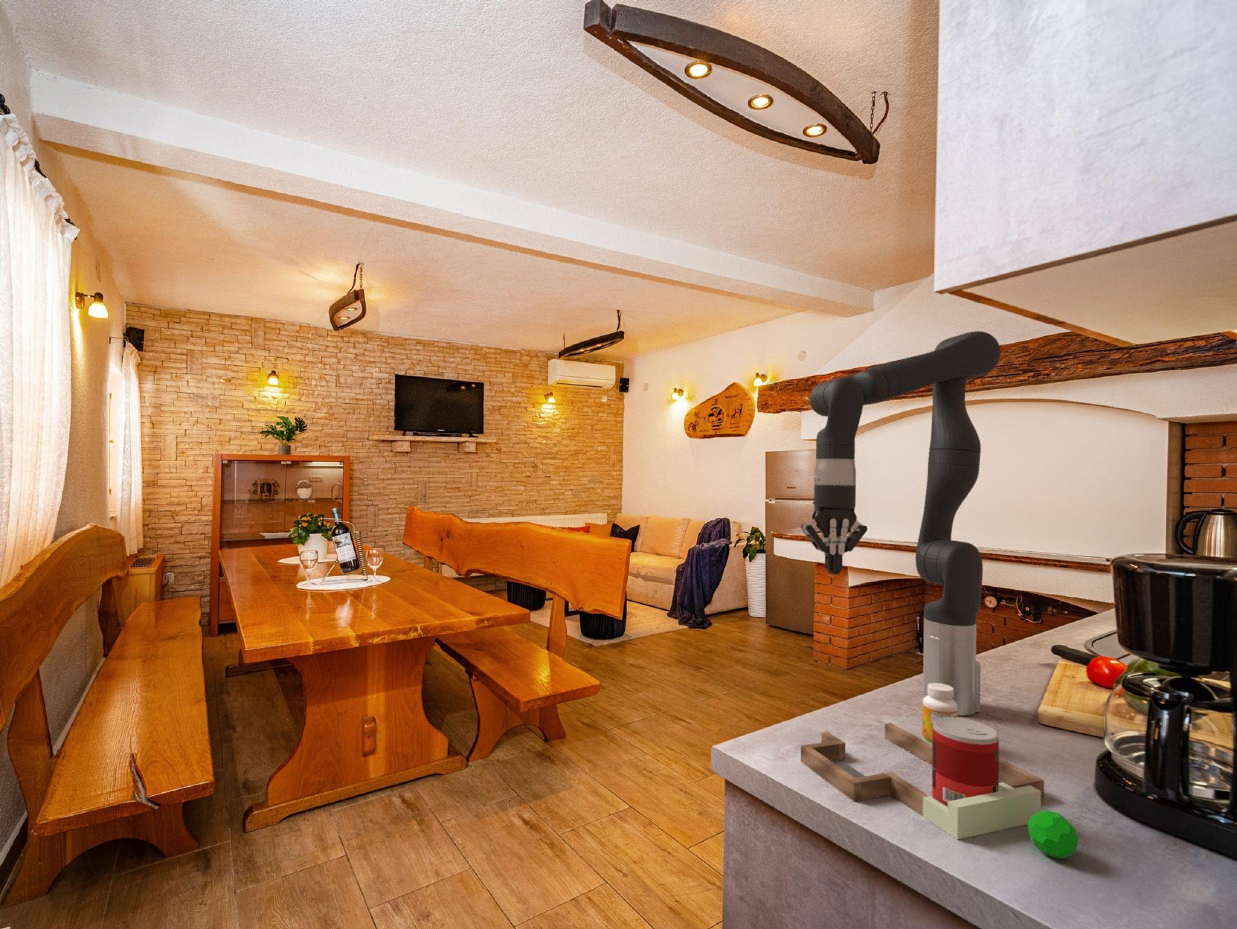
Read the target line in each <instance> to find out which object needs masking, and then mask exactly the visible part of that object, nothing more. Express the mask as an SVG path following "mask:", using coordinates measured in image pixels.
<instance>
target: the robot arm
mask: <svg viewBox="0 0 1237 929" xmlns="http://www.w3.org/2000/svg"><path fill="white" fill-rule="evenodd" d="M1001 350H1002V349H1001V346H1000V343H999V342H998V340H997V338H996V337H995V336H993V335H992V334H990V333H989V332H985V331H980V330H979V331H977V330H975V331H968V332H965V333H962V334H958V335H955V336H951V337H948V338H946V339H944V340H941V341H940V342H939V343H938V344H937V345H936V347H935V349H934V350H933V351H929V352H925V353H922V354H918V355H914V356H910V357H904V358H900V359H897V360H892V361H888V362H885V363H882V364H879V365H875V366H872V367H869V368H867V369H864V370H862V371H859V372H857V373H854V374H850V375H846V376H841V377H837V378H832V379H829V380H826V381H822V382H820V383H818V384H817V385H816V386H815V387H814V388H813V389H812V391H811V393H810V395H809V405H810V408H811V409H812V411H814V412H815V413H816V414H817V415H818V416H822V417H827V419H826V424H825V427H823V428H822V429H820V430H819V431H818V432H817V434H816V442H815V444H816V445H815V446H816V448H815V466H814V474H813V475H814V476H813V506H814V511H813V513H812V515H811V519H810V521H808V522H807V523H802V524H801V525H800V528H801V530H802V532H803V533H804V534H805V536H806V537H807V539H808V540H809V542H810V543H811V544H812V546H813V547H814V548H815V550H817V551H820V552H823V553H824V569H825V571H826V572H827V574H828V575H831V576H832V575H833V576H834V575H836V576H837V575H840V574H841V572H842V570H843V557H844V556H843V555H845V553H847V552H852V551H853V550H854V548H856V546H857V545H858V543H859V542H860V540H862V538H863V536H864V535H865V534H866V532H867V531H868V527H867V525H863V524H862V523H861V522H859V521H858V519H857V518H858V517H857V515H856V512H855V510H856V509H855V508H856V500H857V496H856V494H857V489H856V488H857V485H856V484H857V471H856V469H857V468H856V460H855V459H856V455H855V454H856V434H857V433H858V429H859V425H860V421H861V417H862V414H863V408H864V406H867V405H874V404H878V403H883V402H885V401H889V400H891V399H894V398H897V397H900V396H903V395H907V394H909V393H913V392H914V391H917V390H920V389H922V388H923V389H924V388H925V387H929V386H931V385H932V410H931V411H932V414H931V430H930V443H929V448H928V449H929V450H928V461H927V477H926V478H927V479H926V488H925V496H924V497H925V498H924V506H923V514H922V519H921V524H920V529H919V535H918V539H917V540H918V541H917V545H916V550H915V567H916V571H917V573H918V575H919V576H920V578H921V579H923V581H925V582H928V583H931V584H935V585H936V584H937V585H940V586H943V590H942V595H941V596H942V597H941V598H940V599H938V600H935V601H929V602H926V603H925V605H924V608H923V667H922V668H923V671H922V672H923V675H922V676H923V677H922V680H923V681H922V682H923V683H922V700H923V699H924V697H926V696H928V695H929V694H928V693H927V692H928V691H927V688H928V684H930V683H941V684H945V685H949V686H951V687H952V688H953V689H954V696H953V698H952V699H953V700H954V701H955V702H956V703H957V705H958V716H970V715H974V714H976V713H977V712H978V713H979V712H981V671H982V670H981V669H982V668H981V667H982V666H981V663H980V662H979V661H978V660H977V616H978V613H979V610H980V608H981V603H982V590H983V574H984V573H983V572H984V569H983V568H984V567H983V566H984V563H983V558H982V555H981V553H980V550H979V549H978V548H977V547H976V546H975V545H974V544H973V543H970V542H967V541H959V540H952V534H953V533H952V531H953V525H954V521H955V517H956V514H957V512H958V510H959V509H960V507H961V505H962V503H963V502H964V501H965V500H966V498H967V497H968V495H969V494H970V492H971V490H973V488H974V486H975V484H976V482H977V480H978V478H979V474H980V473H979V472H980V464H981V453H982V452H981V451H982V450H981V449H982V447H981V446H982V445H981V439H980V438H979V435H978V432H977V430H976V428H975V426H974V424H973V422H972V420H971V418H970V416H969V413H968V411H967V408H966V407H967V406H966V386H967V381H968V380H970V379H977V378H980V377H983V376H986V375H988V374H989V373H991V372H992V371H993V370H994V369H995V368H997V365H998V364H999V362H1000V360H1001V353H1002V352H1001ZM818 530H819V532H820V534H821V536H820V535H819V534H818V533H817V532H818ZM849 532H850V533H849Z"/></svg>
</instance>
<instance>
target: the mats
mask: <svg viewBox="0 0 1237 929" xmlns="http://www.w3.org/2000/svg"><path fill="white" fill-rule="evenodd" d="M830 761H832V762H833V763H834V764H836V765H837V766H839V767H840V768H842V769H843V770H845V771H846V772H847V773H849V774H850V775H852V776H853V777H855V778H858V777H864V776H865V775H864V774H862V772H859V771H858V770H857V769H856V768H854V767H852V766H851V765H849V764H848V763H847V762H845V761H843V759H839V758H838V759H832V760H830ZM1002 782H1007V781H1005V780H1003V779H1001V778H999V783H1002Z"/></svg>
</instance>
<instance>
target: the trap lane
mask: <svg viewBox="0 0 1237 929" xmlns="http://www.w3.org/2000/svg"><path fill="white" fill-rule="evenodd" d="M885 738H886V739H885ZM884 739H885V740H887V739H888V741H889V742H891V743H892V742H893V744H894V743H895V744H894V745H896V746H898V745H899V746H898V747H899V748H901V747H902V748H901V749H903V748H904V750H905V749H906V750H905V751H907V750H908V751H910V752H911V753H910V752H909V753H910V754H911V755H912V754H913V755H914V754H915V755H916V757H917V756H918V757H917V758H919V757H920V758H919V759H921V760H923V761H924V760H925V761H924V762H926V763H928V764H930V765H931V766H932V745H931V744H929V743H928V742H926V741H924V740H923V738H921V737H918V736H917V735H914V734H912V733H910V732H908V731H906V730H904V729H903V728H901V727H899V726H897V725H896V724H893V723H891V722H889V723H888V722H887V723H885V724H884ZM908 751H907V752H908ZM915 755H914V756H915ZM838 758H839V759H841V760H845V759H846V742H845V741H844V740H841V739H840V738H838V737H837V736H835V735H833V734H832V733H831V732H828V731H824V732H823V731H821V742H817V743H810V744H802V745H801V744H800V762H801V763H802V764H803V765H804V766H806V767H807V768H809V769H810V770H811V771H812V772H814V773H816V774H817V775H819V777H821V778H822V779H824V780H825V781H826V782H828V783H829V784H830V785H832V786H833V787H834V788H836V789H837V790H838V791H839V792H841V793H842V794H844V795H845V796H846V797H848V799H851V800H852V801H853V802H857V801H863V800H867V799H874V798H879V797H885V796H892V797H894V798H895V799H896V800H898V801H899V802H901V803H902V804H904V805H906V806H907V807H909V808H910V809H911V810H912V811H914V812H916V813H917V814H919V815H920V816H922V817H923V797H928V796H930V795H929V794H927V793H926V792H924V791H923V790H921V789H919V788H918V787H916V786H914V785H913V784H912V783H910V782H909V781H907V780H905V779H903V778H902V777H901V776H899V775H897V774H895V773H894V772H892V771H890V772H884V773H876V774H871V775H864V777H858V778H855V777H853V776H852V775H850V774H849V773H847V772H846V771H845V770H843V769H842V768H840V767H839V766H837V765H836V764H834V763H833V762H832V761H830V760H832V759H838ZM999 778H1001V779H1003V780H1005V781H1007V782H1003V783H1005V784H1007V785H1009V786H1011V787H1013V788H1019V787H1024V786H1032V787H1034V788H1036V789H1038V790H1040V791H1041V799H1044V797H1045V779H1043V778H1041V777H1039V776H1037V775H1035V774H1033V773H1030V772H1029V771H1027V770H1024V769H1022V768H1020V767H1018V766H1017V765H1014V764H1012V763H1010V762H1008V761H1006V760H1004V759H1001V758H1000V757H999Z"/></svg>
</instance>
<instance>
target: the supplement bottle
mask: <svg viewBox="0 0 1237 929" xmlns="http://www.w3.org/2000/svg"><path fill="white" fill-rule="evenodd" d="M927 691H928V692H927V693H928V694H929V695H928V696H926V697H924V699H923V698H922V724H921V725H922V726H921V727H922V738H921V739H922V740H924V741H926V742H928V743H929V744H931V745H932V736H933V721H934V720H936V719H938V718H944V717H954V718H959V715H958V705H957V703H956V702H955V701H954V700H953V699H952V698H953V696H954V689H953V688H952V687H951V686H949V685H945V684H941V683H930V684H928V688H927Z"/></svg>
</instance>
